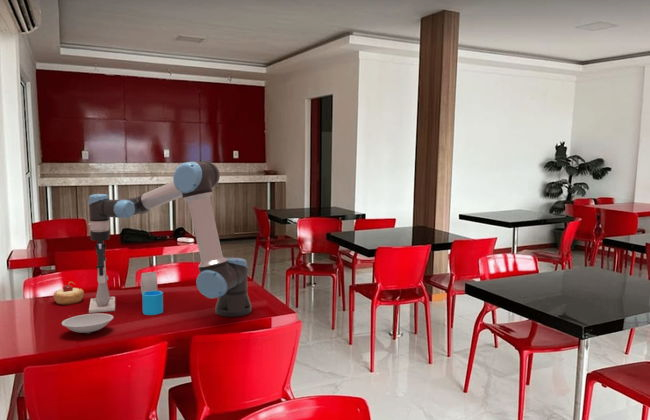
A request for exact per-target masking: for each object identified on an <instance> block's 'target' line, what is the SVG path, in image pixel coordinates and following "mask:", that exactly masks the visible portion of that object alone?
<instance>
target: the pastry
mask: <svg viewBox="0 0 650 420" xmlns="http://www.w3.org/2000/svg"><path fill="white" fill-rule="evenodd" d="M70 283H72V284H74V285H76V283H74V282H73V281H69V282H68V285H67V284H65V285H64V286H63V287H62V288H61V289H58V290H56V291H54V293H53V299H54V302H56V304H57V305H61V306H62V305H63V306H66V305H75V304H78V303H80V302H82V300H83V298H84V290H83V289H82V288H79V287H73V286H72V285H70Z"/></svg>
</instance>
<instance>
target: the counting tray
mask: <svg viewBox="0 0 650 420" xmlns="http://www.w3.org/2000/svg"><path fill="white" fill-rule="evenodd" d="M95 299H96V297H94V298H92V297H91V298H90V301H89V306H88V307H89V308H88V314H96V313H104V312H105V313H107V312H115V311H116V296H110V301H109V303H108V305H106V306H98V305H97V303H96V301H95Z"/></svg>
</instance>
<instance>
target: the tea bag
mask: <svg viewBox="0 0 650 420" xmlns="http://www.w3.org/2000/svg"><path fill="white" fill-rule="evenodd" d="M157 278H158V276H157V271H149V272H142V273H141V274H140V293H141V295H142V294H143V293H144V292H147V291H158V279H157Z"/></svg>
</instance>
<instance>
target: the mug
mask: <svg viewBox="0 0 650 420" xmlns="http://www.w3.org/2000/svg"><path fill="white" fill-rule="evenodd" d="M141 295H142V300H141V301H142V313H143V315H146V316H154V315H160V314H162V313H164V292H163V291H161V290H157V291H147V292H144V293H143V294H141Z"/></svg>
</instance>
